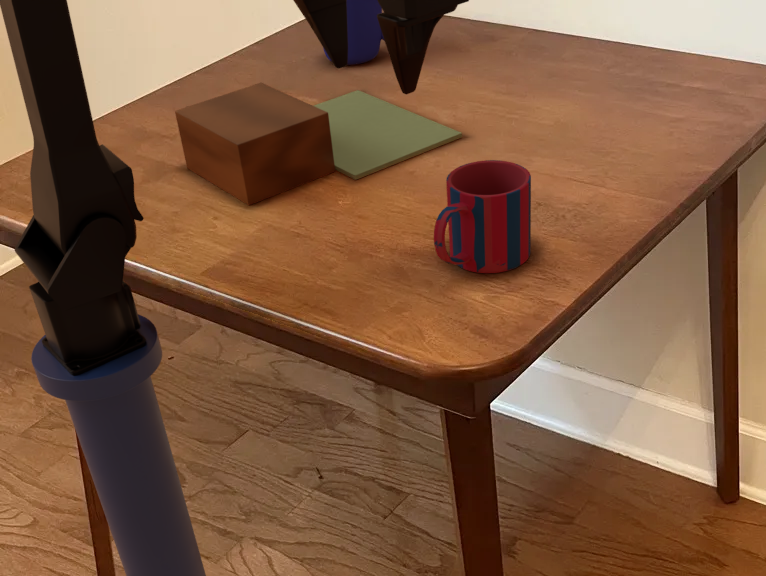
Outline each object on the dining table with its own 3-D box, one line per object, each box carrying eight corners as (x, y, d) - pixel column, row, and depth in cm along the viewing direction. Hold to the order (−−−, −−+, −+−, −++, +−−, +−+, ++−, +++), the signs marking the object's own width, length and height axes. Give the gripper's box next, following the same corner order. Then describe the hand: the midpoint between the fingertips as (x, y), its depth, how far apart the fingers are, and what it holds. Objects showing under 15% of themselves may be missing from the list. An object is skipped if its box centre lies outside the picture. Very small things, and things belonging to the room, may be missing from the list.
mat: (355, 180, 98) (354, 175, 98) (256, 130, 110) (256, 125, 110) (462, 137, 105) (462, 132, 104) (358, 94, 116) (357, 89, 116)
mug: (418, 65, 122) (412, -23, 116) (317, 72, 123) (306, -16, 116) (417, 42, 129) (412, -43, 122) (321, 49, 129) (311, -35, 123)
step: (248, 205, 96) (237, 144, 92) (186, 168, 103) (174, 110, 100) (335, 171, 100) (328, 112, 97) (270, 138, 108) (261, 82, 104)
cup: (547, 250, 85) (548, 174, 81) (463, 299, 80) (459, 220, 76) (488, 226, 89) (486, 152, 85) (404, 271, 84) (398, 195, 80)
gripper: (522, -137, 74) (522, 78, 83) (365, -159, 85) (380, 31, 95) (402, -107, 68) (417, 119, 78) (252, -135, 80) (281, 64, 90)
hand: (374, 79), depth 85 cm, fingers open, 9 cm apart
